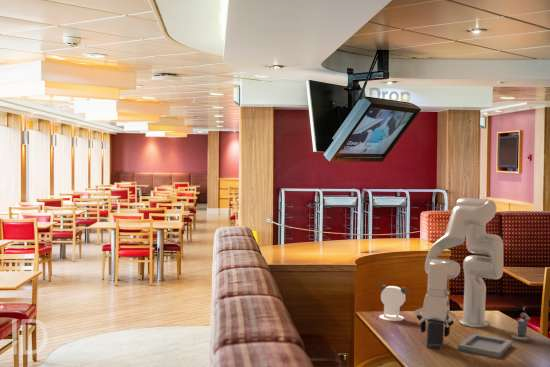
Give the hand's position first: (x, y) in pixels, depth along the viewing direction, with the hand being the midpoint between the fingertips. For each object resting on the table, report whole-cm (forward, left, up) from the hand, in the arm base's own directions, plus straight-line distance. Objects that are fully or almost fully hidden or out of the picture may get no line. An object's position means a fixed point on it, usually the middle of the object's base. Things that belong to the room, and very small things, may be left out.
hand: (434, 333), depth 269 cm
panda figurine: (-29, -31, -5) cm, 43 cm away
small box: (0, 0, -5) cm, 5 cm away
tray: (-9, +18, -5) cm, 21 cm away
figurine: (-31, +27, -5) cm, 42 cm away
